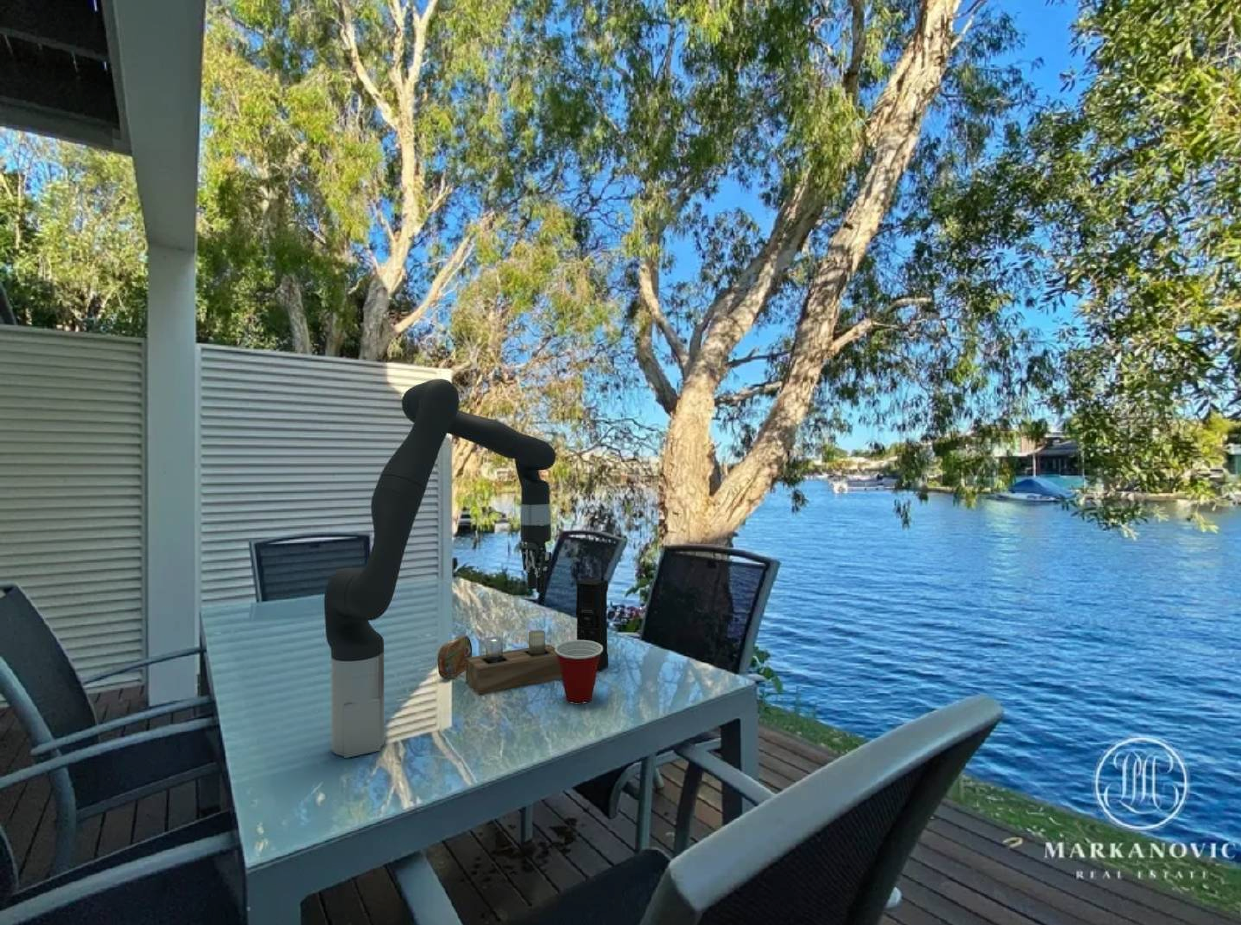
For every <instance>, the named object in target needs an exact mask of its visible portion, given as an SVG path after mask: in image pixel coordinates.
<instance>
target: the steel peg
mask: <svg viewBox="0 0 1241 925" xmlns="http://www.w3.org/2000/svg"><path fill="white" fill-rule="evenodd" d="M503 652H504V638H503V637H502V636H488V637H487V638H486V639H485V655H486V662H487V663H488V664H490V663H496V662H502V661H503Z"/></svg>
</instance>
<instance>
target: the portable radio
mask: <svg viewBox="0 0 1241 925" xmlns="http://www.w3.org/2000/svg"><path fill="white" fill-rule="evenodd" d="M604 572H605V571H603V570H602V571H601V579H599V578H598V579H597V578H582V579H579V580H576V605H575V606H576V607H575V616H576V640H588V641H593V642H596V643H599V644H600V645H602V646H603V651H602V652H601V655H600V658H599V662H598V667H597V671H600V672H602V671H603V670H602V669H604V668H605V669H606V667H607V668H608V666H609V653H608V597H607V596H608V591H609V586H608V585H609V582H608V580H607V579H605V578H604ZM605 669H604V670H605ZM601 670H602V671H601Z"/></svg>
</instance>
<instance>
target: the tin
mask: <svg viewBox="0 0 1241 925" xmlns="http://www.w3.org/2000/svg"><path fill="white" fill-rule="evenodd" d="M469 657H473V646H472V641H471V638H469V636H467V635H465V636H456V637H455V638H453V639H451V640H449V641H448V642H446V643H445V644H443V645H442V646H440V649H439V651H438V654H437V658H436V659H437V670H438V674H439V677H440V678H443V679H451V680H452V679H453V680H454V679H455V678H456V677H458V676H459V675H461V674H462V673H463V672H464V671H466V658H469Z"/></svg>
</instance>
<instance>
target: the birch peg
mask: <svg viewBox="0 0 1241 925" xmlns="http://www.w3.org/2000/svg"><path fill="white" fill-rule="evenodd" d="M545 645H546V631H545V630H543V629H542V630H540V629H537V630H530V631H529V632H528V648H529V655H531V656H537V655H542V654H545Z"/></svg>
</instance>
